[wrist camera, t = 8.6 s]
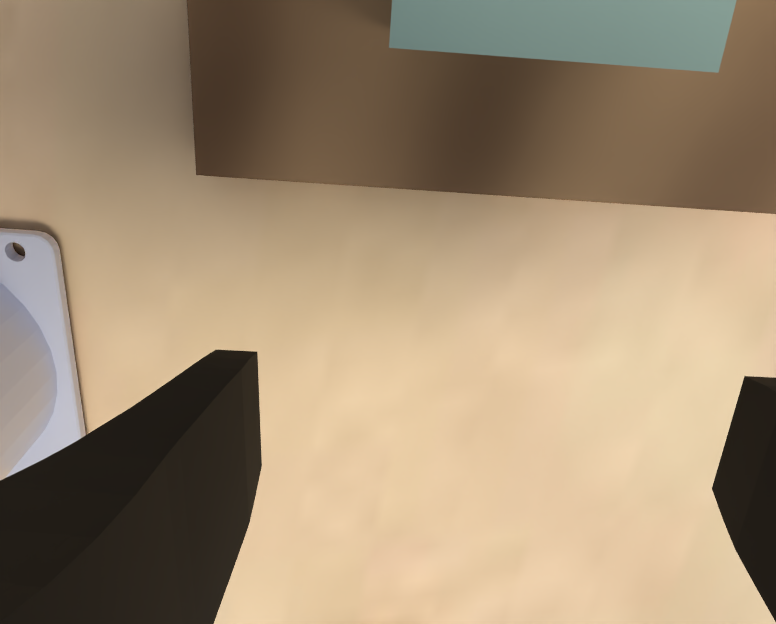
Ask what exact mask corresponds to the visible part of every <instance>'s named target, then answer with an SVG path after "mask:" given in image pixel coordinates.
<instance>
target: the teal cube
mask: <svg viewBox="0 0 776 624" xmlns="http://www.w3.org/2000/svg"><path fill="white" fill-rule="evenodd" d="M736 1H737V0H392V10H391V25H390V41H389V48H399V49H412V50H425V51H438V52H452V53H465V54H478V55H491V56H504V57H518V58H531V59H544V60H557V61H571V62H584V63H597V64H610V65H623V66H637V67H650V68H663V69H676V70H690V71H703V72H716V73H718V72H719V68H720V64H721V60H722V56H723V52H724V48H725V44H726V40H727V36H728V32H729V29H730V25H731V21H732V17H733V13H734V9H735V5H736Z"/></svg>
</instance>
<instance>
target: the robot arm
mask: <svg viewBox="0 0 776 624" xmlns="http://www.w3.org/2000/svg"><path fill="white" fill-rule="evenodd" d="M13 242H15V243H18V244H20V245H21V246H22V247H23V248H24V250H25V256H21V255H19V254H18V253H16V252H15V250H14V248H13ZM261 466H262V463H261V437H260V411H259V385H258V359H257V352H251V351H231V350H215V351H213V352H212V353H210V354H208V355H207V356H205V357H204V358H202V359H201V360H199V361H198V362H196V363H195V364H193V365H192V366H191V367H189V368H188V369H186V370H185V371H183V372H182V373H181V374H179V375H178V376H176V377H175V378H174V379H172V380H171V381H169V382H168V383H166V384H165V385H163V386H162V387H160V388H159V389H158V390H156V391H155V392H153V393H152V394H150V395H149V396H147V397H146V398H144V399H143V400H141V401H140V402H139V403H137V404H136V405H134V406H133V407H131V408H130V409H128V410H126V411H125V412H123V413H121V414H120V415H118V416H117V417H115V418H113V419H112V420H110V421H108V422H107V423H105V424H103V425H102V426H100V427H99V428H97V429H95V430H94V431H92V432H90V433H89V434H87V435H86V433H85V425H84V418H83V411H82V404H81V397H80V390H79V383H78V376H77V369H76V362H75V354H74V347H73V340H72V333H71V326H70V319H69V312H68V305H67V298H66V291H65V284H64V276H63V269H62V262H61V255H60V249H59V246H58V243H57V242H56V241H55V240H54V238H53V237H52V236H50V235H49V234H47V233H45V232H41V231H36V230H21V229H6V228H0V624H213V623H214V621H215V618H216V615H217V612H218V610H219V607H220V604H221V601H222V598H223V596H224V593H225V590H226V587H227V585H228V582H229V579H230V576H231V574H232V571H233V568H234V565H235V562H236V560H237V557H238V554H239V551H240V548H241V545H242V543H243V540H244V537H245V534H246V531H247V528H248V525H249V522H250V517H251V513H252V508H253V504H254V500H255V495H256V490H257V485H258V481H259V476H260V471H261ZM712 490H713V493H714V495H715V498H716V501H717V504H718V507H719V509H720V512H721V515H722V518H723V520H724V523H725V525H726V528H727V530H728V533H729V535H730V538H731V540H732V542H733V545H734V547H735V549H736V551H737V553H738V555H739V557H740V559H741V561H742V563H743V564H744V566H745V568H746V570H747V572H748V573H749V575H750V577H751V579H752V581H753V582H754V584H755V586H756V588H757V590H758V591H759V593H760V595H761V597H762V599H763V600H764V602H765V604H766V606H767V607H768V609H769V611H770V613H771V614H772V616H773V618H774V620H775V621H776V378H769V377H749V376H745V377H744V380H743V384H742V387H741V391H740V394H739V397H738V401H737V404H736V408H735V411H734V415H733V418H732V422H731V425H730V428H729V432H728V435H727V439H726V442H725V446H724V449H723V453H722V456H721V459H720V463H719V466H718V470H717V473H716V477H715V480H714V483H713V487H712Z"/></svg>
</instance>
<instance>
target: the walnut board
mask: <svg viewBox="0 0 776 624" xmlns="http://www.w3.org/2000/svg"><path fill="white" fill-rule="evenodd" d="M187 8H188V27H189V46H190V65H191V83H192V102H193V121H194V140H195V159H196V175H204V176H219V177H234V178H249V179H264V180H278V181H293V182H308V183H323V184H338V185H353V186H368V187H383V188H398V189H412V190H427V191H442V192H457V193H472V194H487V195H502V196H517V197H532V198H546V199H561V200H576V201H591V202H606V203H621V204H636V205H651V206H666V207H680V208H695V209H710V210H725V211H740V212H755V213H770V214H776V0H737V1H736V5H735V9H734V13H733V17H732V21H731V25H730V29H729V32H728V36H727V40H726V44H725V48H724V52H723V56H722V60H721V64H720V68H719V72H718V73H716V72H703V71H690V70H676V69H663V68H650V67H637V66H623V65H610V64H597V63H584V62H571V61H557V60H544V59H531V58H518V57H504V56H491V55H478V54H465V53H452V52H438V51H425V50H412V49H399V48H389V41H390V25H391V10H392V0H187Z"/></svg>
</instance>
